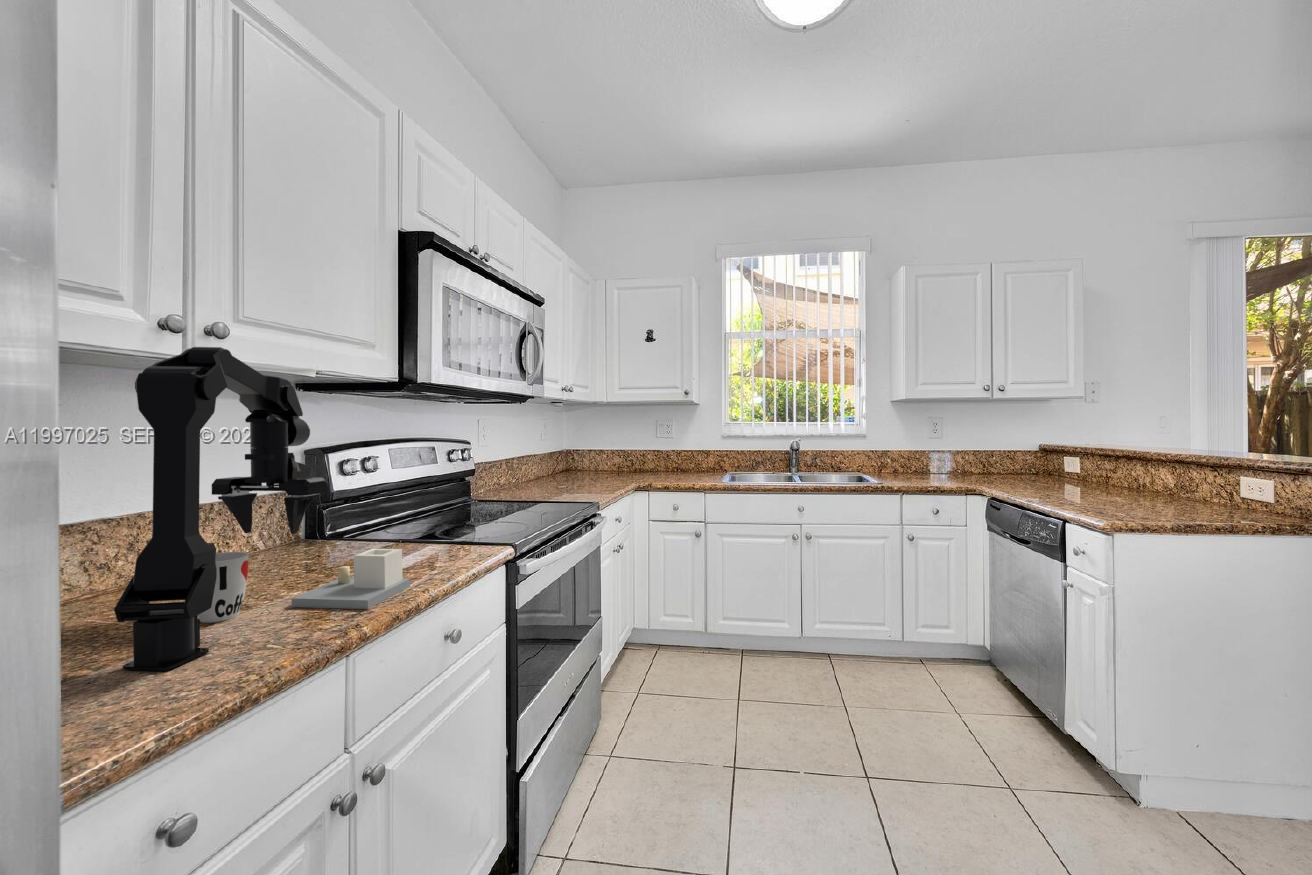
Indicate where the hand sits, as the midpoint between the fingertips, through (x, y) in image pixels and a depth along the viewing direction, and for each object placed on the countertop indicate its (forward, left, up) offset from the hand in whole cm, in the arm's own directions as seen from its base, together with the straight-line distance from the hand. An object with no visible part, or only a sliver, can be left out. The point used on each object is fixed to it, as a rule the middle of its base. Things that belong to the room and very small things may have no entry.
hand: (270, 533), depth 104 cm
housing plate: (+3, -14, -12) cm, 19 cm away
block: (+6, -17, -10) cm, 21 cm away
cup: (-10, +1, -12) cm, 16 cm away
